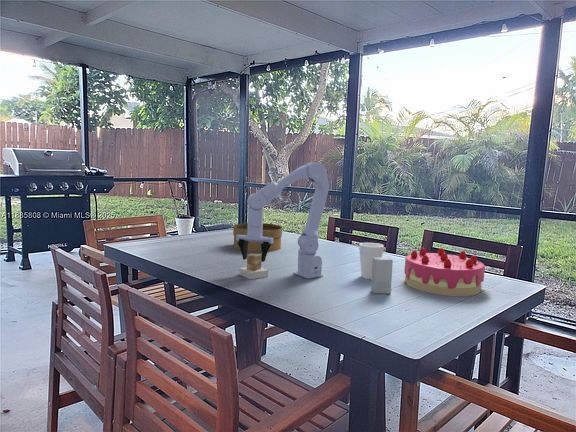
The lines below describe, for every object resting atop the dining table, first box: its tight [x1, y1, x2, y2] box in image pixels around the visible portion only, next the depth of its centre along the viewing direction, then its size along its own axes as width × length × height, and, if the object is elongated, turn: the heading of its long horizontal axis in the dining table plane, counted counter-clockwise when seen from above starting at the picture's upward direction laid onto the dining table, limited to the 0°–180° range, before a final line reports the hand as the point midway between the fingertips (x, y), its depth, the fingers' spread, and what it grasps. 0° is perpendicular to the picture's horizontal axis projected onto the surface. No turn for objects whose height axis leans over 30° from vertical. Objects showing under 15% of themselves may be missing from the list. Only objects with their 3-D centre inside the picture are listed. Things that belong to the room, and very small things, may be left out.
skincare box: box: [370, 257, 394, 295], centre depth 146 cm, size 6×4×12 cm
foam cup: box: [358, 242, 385, 280], centre depth 166 cm, size 10×9×13 cm
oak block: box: [246, 252, 262, 271], centre depth 162 cm, size 4×4×6 cm
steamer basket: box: [232, 222, 283, 253], centre depth 216 cm, size 25×25×11 cm
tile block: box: [238, 266, 269, 280], centre depth 162 cm, size 8×8×3 cm
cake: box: [404, 247, 486, 297], centre depth 159 cm, size 28×28×12 cm
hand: (254, 260), depth 161 cm, fingers open, 7 cm apart
